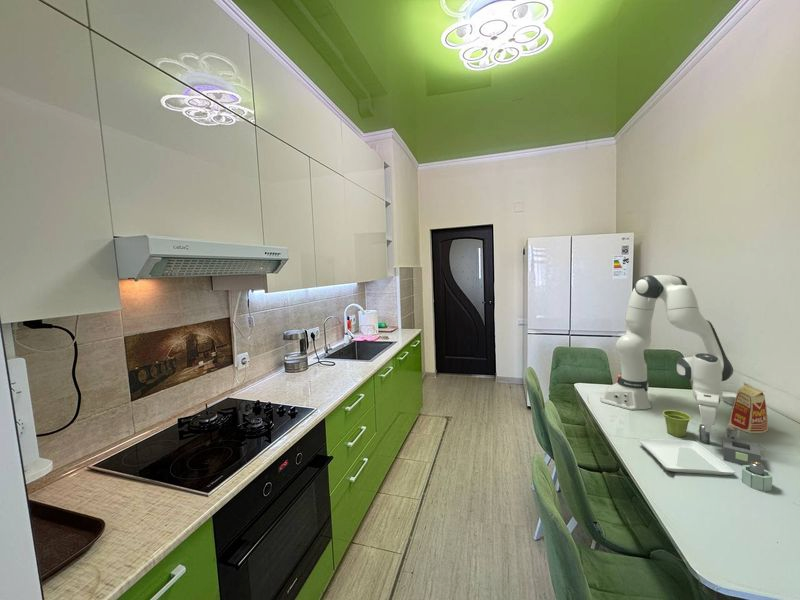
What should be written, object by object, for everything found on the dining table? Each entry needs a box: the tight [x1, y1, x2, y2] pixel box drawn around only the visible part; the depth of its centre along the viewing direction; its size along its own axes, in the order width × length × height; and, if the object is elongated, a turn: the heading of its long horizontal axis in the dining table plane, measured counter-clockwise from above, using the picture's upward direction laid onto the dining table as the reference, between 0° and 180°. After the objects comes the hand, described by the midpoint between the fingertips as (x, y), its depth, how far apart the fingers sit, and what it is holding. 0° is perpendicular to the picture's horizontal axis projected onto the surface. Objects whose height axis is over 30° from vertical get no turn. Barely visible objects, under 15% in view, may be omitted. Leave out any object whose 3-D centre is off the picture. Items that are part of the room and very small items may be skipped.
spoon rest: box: [722, 392, 737, 406], centre depth 161 cm, size 24×12×7 cm, turn 144°
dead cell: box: [750, 461, 765, 476], centre depth 107 cm, size 3×3×8 cm
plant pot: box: [662, 409, 692, 438], centre depth 141 cm, size 9×9×9 cm
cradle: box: [722, 436, 762, 466], centre depth 120 cm, size 9×10×6 cm
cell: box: [698, 423, 711, 445], centre depth 134 cm, size 3×3×8 cm
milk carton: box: [728, 382, 769, 434], centre depth 141 cm, size 9×9×20 cm
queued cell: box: [725, 427, 739, 440], centre depth 129 cm, size 3×3×8 cm
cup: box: [741, 465, 773, 492], centre depth 107 cm, size 7×7×5 cm
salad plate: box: [637, 438, 736, 476], centre depth 123 cm, size 21×21×3 cm
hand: (708, 426), depth 133 cm, fingers open, 8 cm apart
